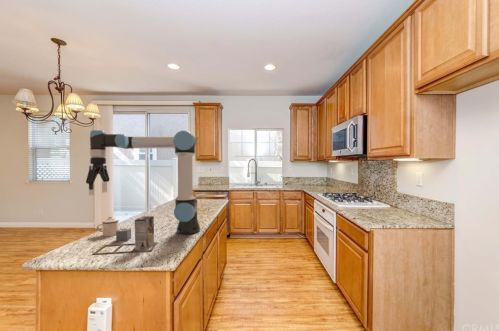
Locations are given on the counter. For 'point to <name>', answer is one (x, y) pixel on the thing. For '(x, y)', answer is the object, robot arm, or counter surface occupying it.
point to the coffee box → (144, 233)
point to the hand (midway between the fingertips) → (98, 193)
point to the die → (123, 234)
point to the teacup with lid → (109, 226)
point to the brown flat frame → (123, 251)
